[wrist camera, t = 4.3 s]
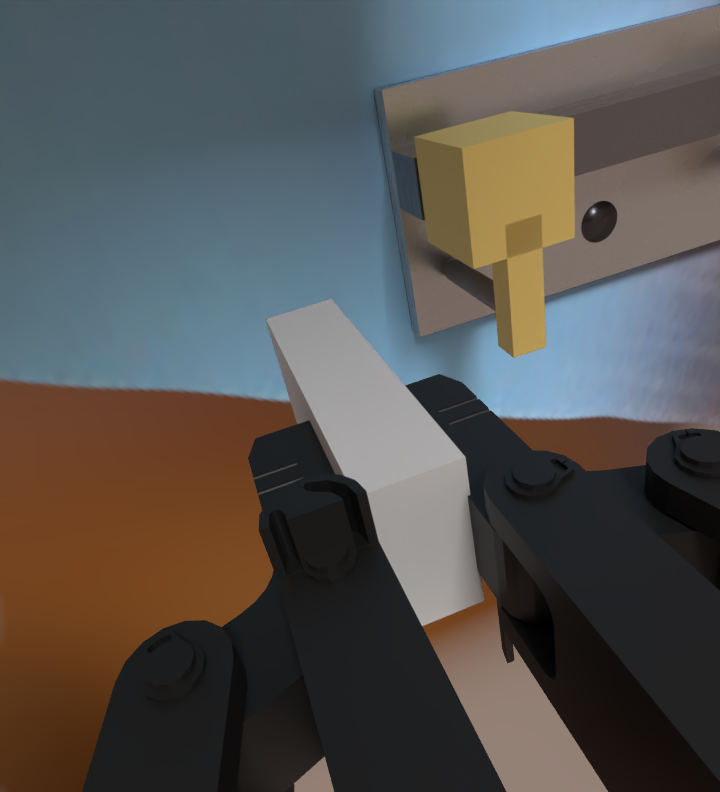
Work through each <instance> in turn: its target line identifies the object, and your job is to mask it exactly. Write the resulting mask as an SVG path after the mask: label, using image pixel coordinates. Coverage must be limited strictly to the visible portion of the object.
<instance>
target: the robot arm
mask: <svg viewBox="0 0 720 792" xmlns="http://www.w3.org/2000/svg"><path fill="white" fill-rule="evenodd" d="M266 322H267V325H268V328H269V332H270V335H271V338H272V342H273V345H274V348H275V352H276V355H277V358H278V362H279V365H280V368H281V372H282V375H283V378H284V381H285V385H286V388H287V391H288V395H289V398H290V401H291V405H292V408H293V411H294V415H295V418H296V421H297V425H294V426H291V427H288V428H285V429H282V430H279V431H276V432H273V433H270V434H267V435H264V436H261V437H258V438H256V439H255V441H254V444H253V447H252V449H251V452H250V455H249V458H248V459H249V463H250V466H251V470H252V473H253V477H254V481H255V485H256V489H257V492H258V495H259V500H260V503H261V507H262V512H261V514H260V515H259V532H260V535H261V537H262V540H263V543H264V545H265V548H266V551H267V553H268V555H269V558H270V561H271V563H272V566H273V569H274V571H273V576H272V578H271V580H270V582H269V584H268V586H267V588H266V590H265V591H264V592H263V593H262V594H261V596H260V597H259V598H258V599H257V601H256V602H255V603H253V604H252V605H251V606H250V607H249V608H247V609H246V610H245V611H244V612H243V613H241V614H240V615H239V616H237V617H236V618H234V619H233V620H231V621H230V622H228V623H227V624H226V625H224V626H223V627H220V626H217V625H215V624H213V623H210V622H208V621H205V620H203V621H184V622H181V623H178V624H175V625H172V626H169V627H166V628H164V629H162V630H160V631H159V632H157V633H156V634H155V635H153V636H152V637H150V638H149V639H147V640H146V641H144V642H143V643H142V644H141V645H140V646H139V647H138V648H137V649H136V650H135V652H134V653H133V654H132V655H131V656H130V657H129V658H128V659H127V660H126V662H125V664H124V666H123V668H122V670H121V672H120V674H119V676H118V678H117V680H116V682H115V685H114V688H113V691H112V695H111V698H110V702H109V705H108V708H107V711H106V715H105V718H104V722H103V724H102V728H101V731H100V734H99V738H98V741H97V745H96V748H95V751H94V754H93V757H92V761H91V764H90V767H89V770H88V774H87V777H86V780H85V784H84V787H83V790H82V792H294V783H295V782H296V781H297V780H298V779H299V778H300V777H301V776H303V775H304V774H305V773H306V772H307V771H308V770H310V769H311V768H312V767H313V766H314V765H315V764H316V763H317V762H318V761H320V760H321V759H322V758H323V757H324V756H325V758H326V762H327V766H328V770H329V773H330V777H331V781H332V784H333V788H334V792H506V790H505V788H504V786H503V784H502V782H501V780H500V778H499V776H498V774H497V772H496V771H495V768H494V767H493V765H492V763H491V761H490V759H489V757H488V755H487V753H486V751H485V749H484V747H483V745H482V743H481V741H480V739H479V737H478V735H477V733H476V731H475V730H474V727H473V725H472V723H471V721H470V719H469V717H468V715H467V713H466V712H465V710H464V708H463V706H462V704H461V702H460V700H459V698H458V696H457V694H456V692H455V690H454V688H453V686H452V684H451V682H450V680H449V678H448V676H447V674H446V672H445V670H444V668H443V666H442V664H441V663H440V661H439V659H438V657H437V655H436V653H435V651H434V649H433V647H432V645H431V643H430V641H429V639H428V637H427V635H426V633H425V632H424V629H423V627H422V626H424V625H426V624H429V623H431V622H434V621H436V620H438V619H441V618H443V617H446V616H448V615H451V614H453V613H455V612H458V611H460V610H463V609H465V608H468V607H470V606H472V605H475V604H477V603H480V602H482V601H484V594H483V586H482V578H483V579H484V581H485V582H486V583H487V585H488V586H489V588H490V589H491V591H492V592H493V594H494V595H495V597H496V598H497V607H498V615H499V624H500V633H501V641H502V649H503V652H504V655H505V658H506V661H507V663H509V662H512V661H514V652H513V644H514V646H515V648H516V649H517V651H518V653H519V654H520V656H521V657H522V659H523V660H524V662H525V663H526V665H527V667H528V668H529V670H530V671H531V673H532V674H533V676H534V677H535V679H536V680H537V682H538V684H539V685H540V687H541V688H542V690H543V691H544V693H545V694H546V696H547V697H548V699H549V700H550V702H551V704H552V705H553V707H554V708H555V710H556V711H557V713H558V715H559V716H560V718H561V719H562V720H563V722H564V724H565V725H566V727H567V728H568V730H569V732H570V733H571V734H572V736H573V738H574V739H575V741H576V742H577V744H578V745H579V747H580V749H581V750H582V751H583V753H584V754H585V756H586V758H587V759H588V761H589V762H590V764H591V765H592V767H593V769H594V770H595V772H596V773H597V775H598V776H599V778H600V779H601V781H602V782H603V784H604V786H605V787H606V789H607V790H608V792H720V432H719V431H715V430H705V429H693V428H692V429H685V430H677V431H671V432H669V433H667V434H664V435H662V436H660V437H657V438H656V439H655V440H654V441H653V442H652V443H651V444H650V445H649V446H648V448H647V457H646V465H644V466H636V467H627V468H619V469H611V470H603V471H586V470H584V469H583V468H582V467H581V466H580V465H579V464H577V463H576V462H574V461H572V460H571V459H569V458H567V457H566V456H564V455H560V454H557V453H553V452H549V451H533V450H532V449H531V448H530V447H529V446H528V445H526V443H524V442H523V441H522V440H521V439H520V438H519V437H518V436H517V435H516V434H515V433H514V432H513V431H512V430H511V429H510V428H509V427H507V425H506V424H505V423H504V422H503V421H502V420H500V419H499V418H498V417H497V416H496V415H495V414H494V413H493V412H492V411H489V409H488V407H487V406H486V405H485V404H484V403H483V402H482V401H481V400H480V399H478V400H477V397H476V396H475V395H474V394H473V393H472V392H471V391H470V390H469V389H468V388H467V387H466V386H465V385H464V384H463V383H462V382H459V381H456V380H454V379H451V378H448V377H446V376H443V375H440V374H438V375H435V376H432V377H429V378H426V379H423V380H421V381H418V382H415V383H412V384H409V385H406V386H405V385H404V384H403V383H402V381H401V380H400V379H399V378H398V377H397V376H396V374H395V373H394V372H393V371H392V370H391V368H390V367H389V366H388V365H387V364H386V363H385V361H384V360H383V359H382V358H381V357H380V355H379V354H378V353H377V352H376V351H375V350H374V348H373V347H372V346H371V345H370V344H369V342H368V341H367V340H366V339H365V338H364V337H363V335H362V334H361V333H360V332H359V331H358V329H357V328H356V327H355V326H354V325H353V324H352V322H351V321H350V320H349V319H348V318H347V317H346V315H345V314H344V313H343V312H342V311H341V309H340V308H339V307H338V306H337V305H336V304H335V302H334V301H333V300H332V299H329V300H325V301H322V302H319V303H316V304H312V305H309V306H306V307H303V308H299V309H296V310H293V311H289V312H286V313H283V314H280V315H276V316H273V317H270V318H267V319H266ZM481 576H482V578H481Z"/></svg>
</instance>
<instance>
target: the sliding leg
mask: <svg viewBox="0 0 720 792" xmlns="http://www.w3.org/2000/svg"><path fill="white" fill-rule="evenodd" d="M414 141H415V149H416V156H417V163H418V171H419V178H420V185H421V193H422V200H423V207H424V215H425V222H426V230H427V237H428V242H429V243H431V244H433V245H434V246H436V247H438V248H439V249H441V250H443V251H444V252H446V253H448V254H449V255H451V256H453V257H454V258H456V259H454V260H451V261H450V262H449V263H448V264H447V265H446V267H445V271H444V272H445V276H446V278H447V279H449V280H450V281H452V282H453V283H454V284H456V285H457V286H459V287H460V288H462V289H463V290H465V291H466V292H468V293H469V294H471V295H472V296H474V297H475V298H476V299H478V300H479V301H481V302H482V303H484V304H485V305H487V306H488V307H490V308H491V309H493V310H494V311H495V312H496V321H497V333H498V346H499V347H501V348H502V349H503V350H505V351H506V352H507V353H508V354H510V355H511V356H512V357H514V358H515V357H518V356H521V355H523V354H526V353H529V352H532V351H535V350H538V349H541V348H544V347H546V331H545V303H544V274H543V247H547V246H550V245H553V244H556V243H560V242H563V241H566V240H569V239H573V238H575V206H574V118H570V117H561V116H551V115H542V114H533V113H524V112H514V111H509V112H506V113H502V114H498V115H494V116H491V117H487V118H483V119H479V120H475V121H472V122H468V123H464V124H460V125H457V126H453V127H449V128H445V129H441V130H438V131H434V132H430V133H426V134H423V135H419V136H415V137H414ZM488 264H492V272H493V280H492V279H490V278H489V277H487V276H485V275H484V274H482V273H480V272H479V271H477V270H475V269H476V268H479V267H482V266H485V265H488Z"/></svg>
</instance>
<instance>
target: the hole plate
mask: <svg viewBox="0 0 720 792" xmlns="http://www.w3.org/2000/svg"><path fill="white" fill-rule="evenodd" d="M374 94H375V101H376V107H377V113H378V119H379V125H380V131H381V138H382V144H383V150H384V156H385V162H386V168H387V175H388V181H389V187H390V193H391V199H392V205H393V212H394V218H395V224H396V230H397V236H398V242H399V248H400V255H401V261H402V267H403V273H404V279H405V285H406V292H407V298H408V304H409V310H410V316H411V322H412V329H413V331H415V332H416V333H417V334H418V335H419V336H420V337H422V336H425V335H428V334H431V333H435V332H438V331H441V330H444V329H447V328H450V327H453V326H456V325H459V324H462V323H465V322H468V321H471V320H475V319H478V318H481V317H484V316H487V315H490V314H493V313H496V312H495V311H494V310H493V309H491V308H490V307H488V306H487V305H485V304H484V303H482V302H481V301H479V300H478V299H476V298H475V297H474V296H472V295H471V294H469V293H468V292H466V291H465V290H463V289H462V288H460V287H459V286H457V285H456V284H454V283H453V282H452V281H450V280H449V279H447V278H446V276H445V272H444V271H445V267H446V265H447V264H448V263H449V262H450V261H451V260H454V259H456V258H454V257H453V256H451V255H449V254H448V253H446V252H444V251H443V250H441V249H439V248H438V247H436V246H434V245H433V244H431V243H429V242H428V237H427V230H426V222H425V215H424V207H423V200H422V193H421V185H420V178H419V171H418V163H417V156H416V149H415V141H414V137H415V136H419V135H423V134H426V133H430V132H434V131H438V130H441V129H445V128H449V127H453V126H457V125H460V124H464V123H468V122H472V121H475V120H479V119H483V118H487V117H491V116H494V115H498V114H502V113H506V112H509V111H514V112H524V113H533V114H542V115H551V116H561V117H570V118H574V206H575V238H573V239H569V240H566V241H563V242H560V243H556V244H553V245H550V246H547V247H543V274H544V297H545V296H548V295H552V294H555V293H558V292H561V291H564V290H567V289H570V288H573V287H576V286H579V285H582V284H585V283H588V282H592V281H595V280H598V279H601V278H604V277H607V276H610V275H613V274H616V273H619V272H622V271H625V270H629V269H632V268H635V267H638V266H641V265H644V264H647V263H650V262H653V261H656V260H659V259H662V258H665V257H669V256H672V255H675V254H678V253H681V252H684V251H687V250H690V249H693V248H696V247H699V246H702V245H706V244H709V243H712V242H715V241H718V240H720V4H717V5H713V6H709V7H705V8H701V9H697V10H693V11H689V12H685V13H681V14H677V15H673V16H669V17H665V18H661V19H656V20H652V21H648V22H644V23H640V24H636V25H632V26H628V27H624V28H620V29H616V30H612V31H608V32H604V33H600V34H596V35H592V36H588V37H584V38H580V39H576V40H572V41H568V42H564V43H560V44H556V45H552V46H547V47H543V48H539V49H535V50H531V51H527V52H523V53H519V54H515V55H511V56H507V57H503V58H499V59H495V60H491V61H487V62H483V63H479V64H475V65H471V66H467V67H463V68H459V69H455V70H451V71H447V72H442V73H438V74H434V75H430V76H426V77H422V78H418V79H414V80H410V81H406V82H402V83H398V84H394V85H390V86H386V87H382V88H378V89H374ZM475 270H477V271H479V272H480V273H482V274H484V275H485V276H487V277H489V278H490V279H492V280H493V272H492V264H488V265H485V266H482V267H479V268H476V269H475Z"/></svg>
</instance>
